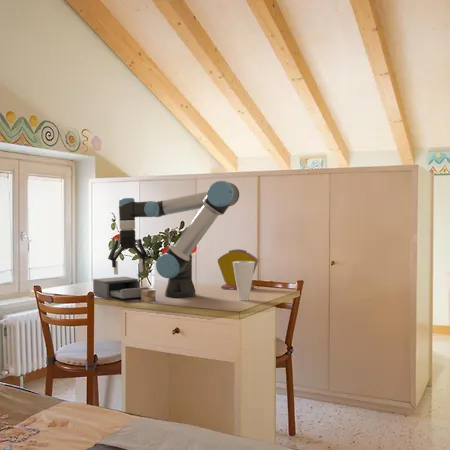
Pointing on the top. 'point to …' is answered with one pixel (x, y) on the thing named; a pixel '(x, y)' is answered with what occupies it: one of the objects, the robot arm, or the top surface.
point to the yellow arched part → (227, 265)
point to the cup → (243, 277)
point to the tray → (128, 292)
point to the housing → (113, 285)
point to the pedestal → (148, 295)
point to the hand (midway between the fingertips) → (128, 273)
